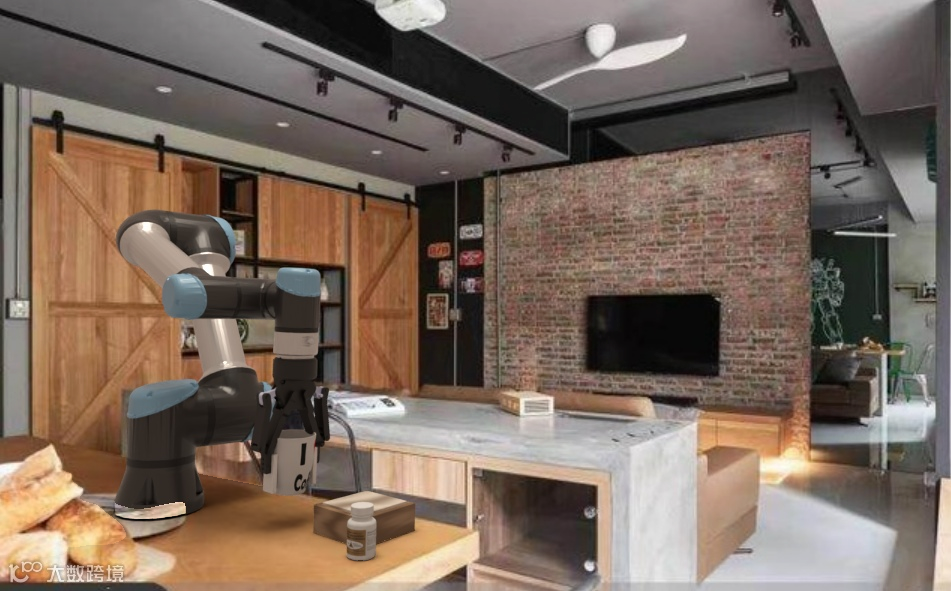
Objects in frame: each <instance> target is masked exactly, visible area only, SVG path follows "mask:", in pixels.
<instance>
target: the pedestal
mask: <svg viewBox="0 0 951 591" xmlns="http://www.w3.org/2000/svg"><path fill="white" fill-rule="evenodd" d="M357 502H370V503H372V504H373V505H374V512H373V515H372V517H373V518H375V520H376V543H378V544H380V543H379V542H381V543H383V542H382V541H384V540H387V539H389V540H391V539H390V538H392V539H394V538H393V537H395V538H397V537H396V536H398V537H400V536H399V535H401V536H403V535H406V534H409V533H411V532H414V531H415V530H416V503H415V502H411V501H407V500H404V499H400V498H397V497H393V496H389V495H386V494H382V493H378V492H373V491H370V490H364V491H360V492H357V493H353V494H350V495H346V496H342V497H341V496H340V497H337V498H334V499H331V500H326V501H322V502H320V503H316V504H313V526H312V527H313V530H312V533H313V534H316V535H319V536H323V537H325V538H329V539H331V540H333V539H334V540H333V541H337V542H339V541H340V542H339V543H342V542H343V544H345V543H347V522H348V520H349V519H350V518H352V516H351V505H352V504H353V503H357ZM405 533H406V534H405ZM402 534H403V535H402ZM387 541H388V540H387ZM384 542H385V541H384Z"/></svg>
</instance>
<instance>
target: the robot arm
mask: <svg viewBox="0 0 951 591" xmlns="http://www.w3.org/2000/svg"><path fill="white" fill-rule="evenodd" d="M115 245H116V248H117V250H118V253H119V254H120V255H121V257H123V258H124V259H125V261H126V262H128V263H129V264H131V265H133V266H135V267H138V268H141V269H142V270H143V271H144V272H145V273H146V274H147V275H148V276H149V277H150V278H151V279H152V280H153V281H154V282H155V283H156V284H157V285H158V286H159V287H160V288H161V290H162V291H161V303H162V307H163V311H164V313H165V314H166V315H167V316H168V317H170V318H174V319H185V320H190V321H191V322H192V326H193V332H194V337H195V342H196V346H197V350H198V356H199V360H200V365H201V370H202V376H200V379H198V381H197V380H196V379H194V378H193V379H192V378H180V379H170V380H162V381H157V382H151V383H148V384H144V385H141V386H139V387H136V388H134V389H133V391H132V392H131V393H130V395H129V398H128V399H129V400H128V406H127V412H126V417H127V431H126V433H127V434H126V435H127V436H126V462H125V463H126V464H125V471H124V474H123V477H122V479H121V482H120V485H119V486H118V489H117V492H116V495H115V497H114V500H113V502H114V501H115V503H116V504H118V505H121V506H125V507H128V508H134V509H144V508H151V507H155V506H159V505H164V504H169V503H175V502H183V503H185V506H186V514H185V515H187V514H191V513H194V512H196V511H198V510H200V509H201V508H203V507H204V504H205V491H204V487H203V485H202V481H201V479H200V478H201V477H200V476H199V475H200V474H199V472H198V469H197V465H196V455H197V454H196V451H197V448H201V447H210V446H211V447H212V446H217V445H226V444H227V445H228V444H235V443H246V442H248V441H249V442H250V441H251V442H250V450H251V451H252V452H255V453H258V454H259V455H260V469H259V470H260V473H261V474H263V478H262V479H263V480H262V483H263V485H262V491H263V492H265V493H268V494H271V495H274V494H276V486H277V463H278V455H277V454H273V453H274V450H275V448H276V445H277V442H278V440H277V438H279V437H280V434H281V432H282V430H284V426H285V423H286V420H287V419H288V417H289V416H290V415H291V412H294V411H295V410H296V411H297V412H298V413H299V416H300V419H301V424H302V426H303V430H305V432H307V433H308V434H313V433H314V432H315V433H316V441H315V451H314V459H313V464H312V469H311V474H310V478H309V481H308V485H309V484H310V485H315V484H317V468H318V466H317V464H319V463H320V459H321V448H324V446H325V445H326V442H329V441H330V439H331V430H330V419H329V404H328V398H329V393H330V388H329V387H327V386H321V385H316V382H315V379H317V376H318V359H317V357H315V356H317V355H318V352H319V334H320V332H319V329H320V317H321V316H320V314H321V300H322V299H321V298H322V296H321V295H322V289H321V273H320V272H319V270H317V269H315V268H305V267H281V268H279V269H278V271H277V272H276V278H261V277H260V278H258V277H257V278H255V277H237V276H235V277H234V276H226V274H227V272H228V271H229V269H230V267H231V266H232V264H233V262H234V260H235V257H236V254H237V249H236V245H237V240H236V234H235V233H234V230H233V228H232V226H231V225H230V223H229V222H228V221H227V220H225V219H224V218H222V217H217V216H212V215H210V214H194V213H193V214H192V213H187V212H179V211H178V212H177V211H171V210H164V209H145V210H141V211H139V212H135V213H134V214H131V215H130V216H128V217H126V218H125V219H124V220H123V221H122V223H121V224H120V225H119V227H118V228H117V231H116V234H115ZM237 320H264V321H265V320H267V321H268V320H270V321H274V333H273V350H272V351H273V352H272V354H274V355H276V356H274V358H273V360H272V379H273V384H272V386H271V384H270V383H268V382H266V381H259V379H258V374H257V370H256V369H255V368H254V367H252V366H250V365H247V362H246V356H245V352H244V348H243V345H242V344H243V343H242V340H241V336H240V331H239V328H238V323H237ZM312 398H313V402H312Z"/></svg>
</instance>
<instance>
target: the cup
mask: <svg viewBox="0 0 951 591" xmlns="http://www.w3.org/2000/svg"><path fill="white" fill-rule="evenodd" d="M277 440H278V442H277V445H276V448H275V450H274V453H273V454H277V455H278V463H277V486H276V493H275V494H276V495H280V496H285V497H286V496H287V497H288V496H291V497H292V496H298V495H301V494H304V493H305V492H306V489H307V487H308V485H309V483H308V481H309V478H310V474H311V469H312V464H313V459H314V451H315V441H316V433H315V432H314V433H313V434H308V433H307V432H305V430H304V429H282V432H281V434H280V437H279V438H277Z"/></svg>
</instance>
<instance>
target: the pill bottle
mask: <svg viewBox="0 0 951 591" xmlns="http://www.w3.org/2000/svg"><path fill="white" fill-rule="evenodd" d="M373 512H374V505H373V504H372V503H370V502H357V503H353V504H352V505H351V516H352V518H350V519H349V520H348V522H347V544H346V557H347V558H348V559H349V560H353V561H358V560H363V561H368V560H371V559H373V558H374V557H375V556H376V554H377V550H376V548H377V544H376V520H375V518H373V517H372V515H373Z"/></svg>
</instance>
